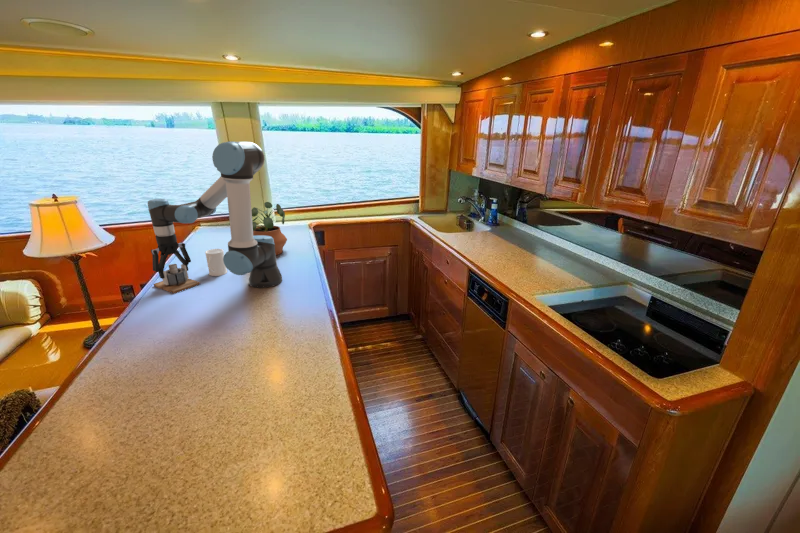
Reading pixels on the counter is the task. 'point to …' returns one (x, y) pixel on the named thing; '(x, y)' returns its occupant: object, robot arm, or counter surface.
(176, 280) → the ring
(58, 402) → the counter surface
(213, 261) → the mug
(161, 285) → the post block
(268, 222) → the potted plant
